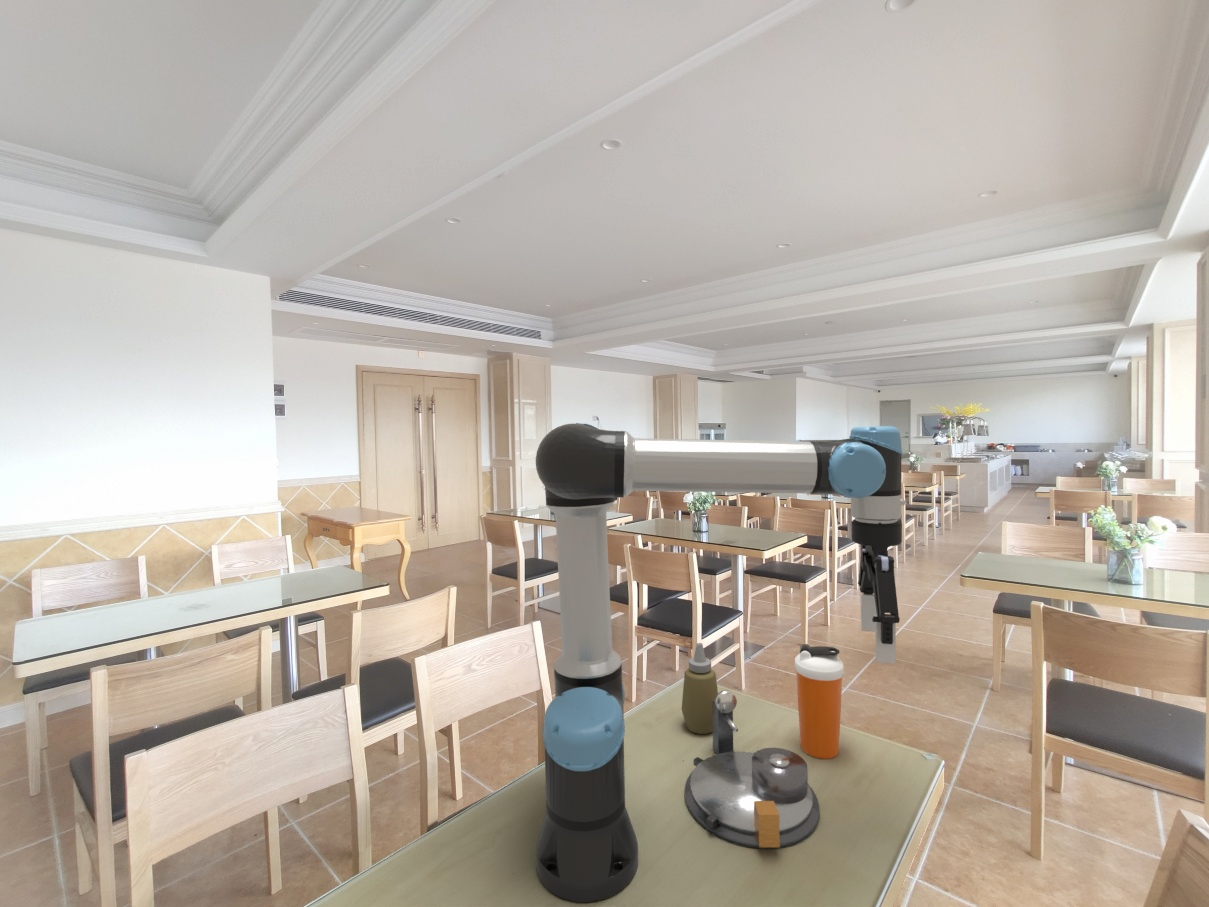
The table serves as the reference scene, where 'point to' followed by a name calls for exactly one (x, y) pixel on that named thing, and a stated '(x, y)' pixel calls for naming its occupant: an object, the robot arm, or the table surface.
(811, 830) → the turntable base
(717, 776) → the platter
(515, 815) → the table surface
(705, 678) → the squeeze bottle
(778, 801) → the cover
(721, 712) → the indicator post
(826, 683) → the shaker bottle
